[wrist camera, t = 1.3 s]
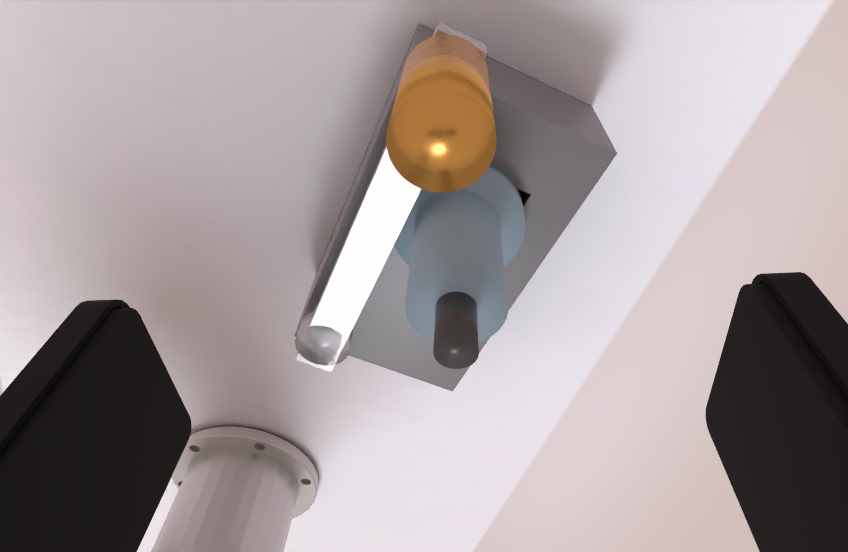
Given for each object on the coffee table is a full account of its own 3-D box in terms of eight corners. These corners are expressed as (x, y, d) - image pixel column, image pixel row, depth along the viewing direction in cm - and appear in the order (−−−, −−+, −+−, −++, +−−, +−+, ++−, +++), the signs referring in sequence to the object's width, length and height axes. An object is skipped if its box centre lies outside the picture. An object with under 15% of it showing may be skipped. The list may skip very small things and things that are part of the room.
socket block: (453, 326, 40) (452, 406, 34) (315, 275, 38) (289, 350, 32) (592, 106, 31) (623, 164, 25) (418, 23, 29) (408, 65, 23)
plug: (483, 246, 34) (494, 433, 23) (380, 205, 32) (340, 381, 22) (539, 153, 30) (584, 320, 19) (427, 102, 29) (407, 250, 18)
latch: (345, 360, 32) (319, 471, 26) (289, 341, 32) (250, 450, 26) (501, 48, 22) (517, 117, 16) (425, 11, 21) (412, 68, 16)
